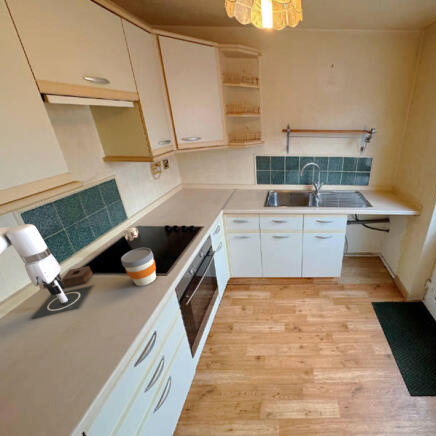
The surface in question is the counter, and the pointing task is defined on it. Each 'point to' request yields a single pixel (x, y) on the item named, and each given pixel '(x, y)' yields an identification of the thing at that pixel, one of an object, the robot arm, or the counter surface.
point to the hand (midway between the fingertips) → (58, 291)
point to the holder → (77, 276)
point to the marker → (61, 295)
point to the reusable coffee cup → (140, 265)
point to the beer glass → (133, 238)
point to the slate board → (56, 306)
